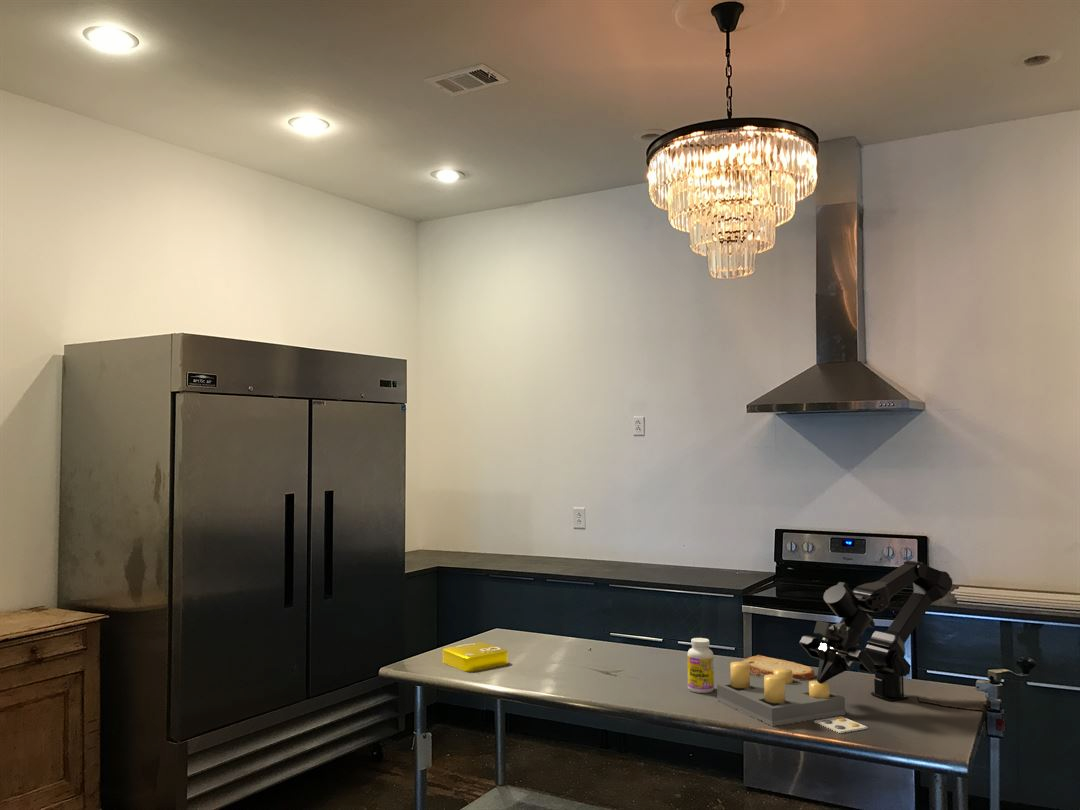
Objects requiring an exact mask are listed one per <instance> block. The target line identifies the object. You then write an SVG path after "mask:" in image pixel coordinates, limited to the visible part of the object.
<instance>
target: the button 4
mask: <svg viewBox="0 0 1080 810" xmlns="http://www.w3.org/2000/svg"><path fill="white" fill-rule="evenodd" d="M808 684H809V696H811V697H814V698H816V699H823V698H830V694H829V692H830V683H829V682H828V681H825V682H824V683H818V681H817V680H809V681H808Z"/></svg>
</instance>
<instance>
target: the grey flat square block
mask: <svg viewBox="0 0 1080 810" xmlns="http://www.w3.org/2000/svg"><path fill="white" fill-rule="evenodd" d="M716 689H717V692H716V693H717V695H716V696H717V697H716V699H717V702H719V701H720V702H719V703H721V702H722V703H721V704H723V703H725V704H727V705H729V706H728V707H730V706H731V707H730V708H732V707H733V708H732V709H734V708H736V709H738V710H740V711H742V712H744V713H746V714H748V715H747V716H749V715H751V716H753V717H755V718H757V719H759V720H762V721H763V722H766V723H768V724H769V725H768V724H767V725H768V726H770V725H772V726H774V725H780V724H786V725H788V724H787V723H792V724H794V723H793V722H798V723H800V722H799V721H804V722H806V721H805V720H810V721H815V720H814V719H816V720H821V719H820V718H822V719H828V718H834V717H833V716H835V717H840V716H839V715H841V716H845V715H846V703H845V702H846V697H844V696H842V695H840V694H837V693H834V692H831V691H829V694H830V698H823V699H816V698H814V697H811V696H809V682H808V683H807V682H804V681H803V680H797V679H794V678H793V683H791V684H785V702H783V703H771V702H767V701H765V699H764V677H761V678H755V679H750V687H748V688H736V687H732V686H731V682H725V683H724V682H723V683H719V684H716ZM725 704H724V705H725ZM727 705H726V706H727ZM736 709H735V710H736ZM738 710H737V711H738ZM740 711H739V712H740ZM742 712H741V713H742ZM744 713H743V714H744ZM746 714H745V715H746ZM751 716H750V717H751ZM753 717H752V718H753ZM827 717H828V718H827ZM755 718H754V719H755ZM757 719H756V720H757ZM759 720H758V721H759ZM763 722H762V723H763ZM772 726H771V727H772ZM780 726H781V725H780ZM774 727H775V726H774Z"/></svg>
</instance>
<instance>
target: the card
mask: <svg viewBox="0 0 1080 810" xmlns="http://www.w3.org/2000/svg"><path fill="white" fill-rule="evenodd" d="M814 722H815V723H814ZM813 723H814V724H816V723H818V724H820V725H819V726H821V725H822V726H821V727H823V726H824V727H823V728H825V727H826V729H828V728H829V729H828V730H830V729H831V731H832V730H833V732H835V731H836V732H835V733H837V732H838V733H837V734H839V733H840V734H845V732H846V733H850V732H851V731H852V732H857V731H862V730H867V729H868V726H866V725H864V724H861V723H859V722H857V721H854V720H851V719H849V718H846V717H844V716H843V715H841V716H835V717H828V718H822V719H816V720H813ZM818 724H817V725H818Z"/></svg>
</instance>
